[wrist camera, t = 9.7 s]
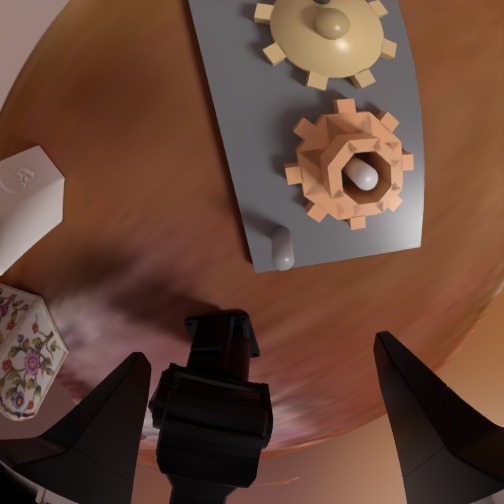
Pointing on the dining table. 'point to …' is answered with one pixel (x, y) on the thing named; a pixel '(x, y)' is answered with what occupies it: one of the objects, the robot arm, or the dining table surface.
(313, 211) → the loose gear
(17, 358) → the decorative jar
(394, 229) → the gear board
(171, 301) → the dining table surface
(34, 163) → the jar
